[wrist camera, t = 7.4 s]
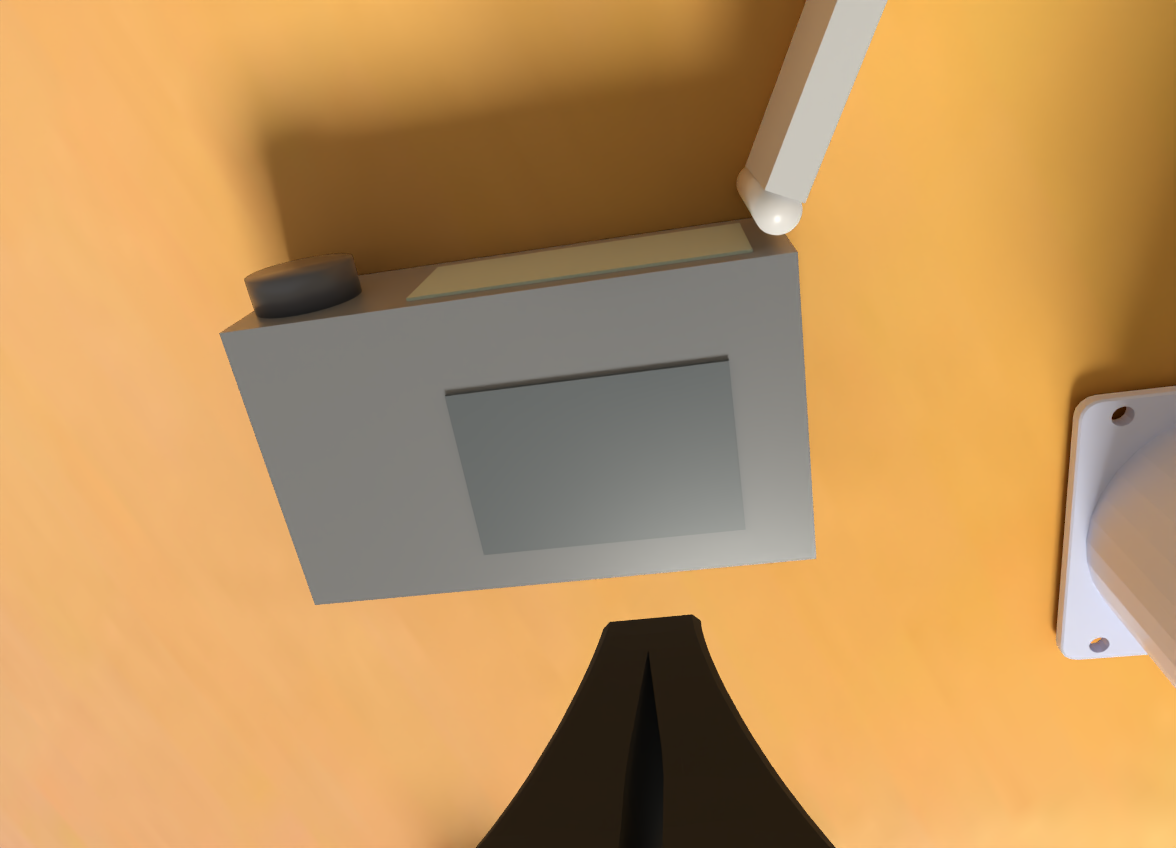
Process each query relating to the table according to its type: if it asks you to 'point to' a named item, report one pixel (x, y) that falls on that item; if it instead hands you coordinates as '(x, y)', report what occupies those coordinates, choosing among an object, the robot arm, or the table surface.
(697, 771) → the robot arm
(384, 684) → the table surface
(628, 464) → the camera body
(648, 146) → the table surface
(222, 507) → the table surface
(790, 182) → the side door
